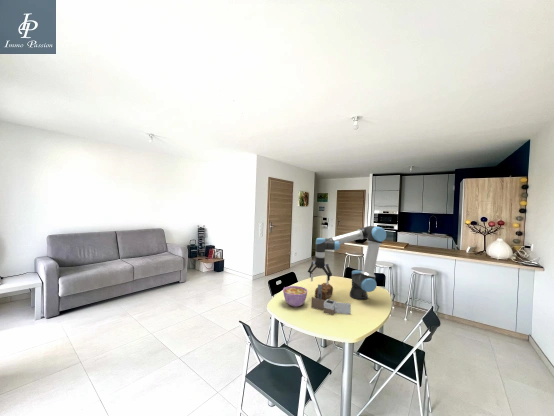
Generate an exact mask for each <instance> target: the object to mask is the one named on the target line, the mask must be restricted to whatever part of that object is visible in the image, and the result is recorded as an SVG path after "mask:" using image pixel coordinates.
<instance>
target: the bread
mask: <svg viewBox="0 0 554 416" xmlns="http://www.w3.org/2000/svg"><path fill="white" fill-rule="evenodd" d="M320 285H322V299H321V300H327V299H329V298H330V297H332V295H333V291H334V288H333V286H332V285H331V284H330V283H329V284H328V285H327V282H322V283H321V284H320ZM314 298H317V299H318V286H317V287H316V288H315V290H314Z"/></svg>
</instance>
